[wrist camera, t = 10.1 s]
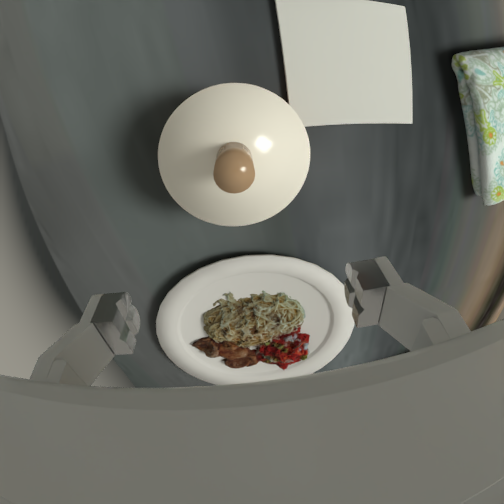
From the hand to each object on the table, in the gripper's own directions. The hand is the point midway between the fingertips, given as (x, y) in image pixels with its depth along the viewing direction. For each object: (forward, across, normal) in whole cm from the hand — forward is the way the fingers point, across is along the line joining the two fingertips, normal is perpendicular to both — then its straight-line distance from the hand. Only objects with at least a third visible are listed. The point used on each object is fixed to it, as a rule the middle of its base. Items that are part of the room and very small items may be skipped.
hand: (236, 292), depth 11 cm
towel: (+23, -38, -3) cm, 44 cm away
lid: (+17, 0, 0) cm, 17 cm away
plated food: (+23, +1, +28) cm, 36 cm away
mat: (+22, -13, -8) cm, 27 cm away
